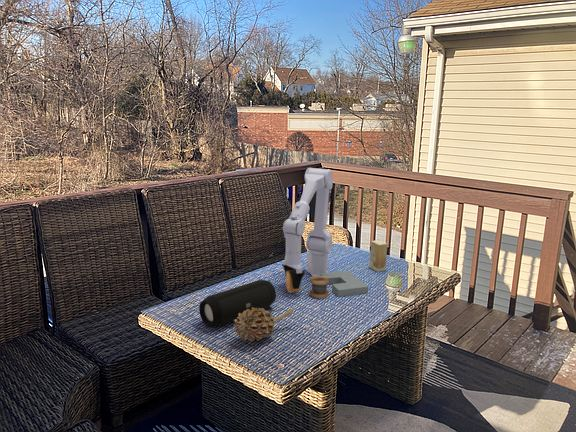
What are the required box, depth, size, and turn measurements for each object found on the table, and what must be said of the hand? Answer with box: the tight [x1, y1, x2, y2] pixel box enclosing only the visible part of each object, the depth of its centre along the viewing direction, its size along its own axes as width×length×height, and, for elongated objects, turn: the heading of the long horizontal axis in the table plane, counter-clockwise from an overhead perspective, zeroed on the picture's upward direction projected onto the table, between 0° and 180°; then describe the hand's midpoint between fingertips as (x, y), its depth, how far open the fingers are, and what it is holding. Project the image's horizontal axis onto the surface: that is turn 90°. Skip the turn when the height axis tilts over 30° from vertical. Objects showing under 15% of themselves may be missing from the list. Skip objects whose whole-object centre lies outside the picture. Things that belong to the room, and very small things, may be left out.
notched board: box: [320, 270, 369, 297], centre depth 177 cm, size 18×12×2 cm, turn 18°
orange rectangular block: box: [285, 270, 301, 293], centre depth 173 cm, size 4×4×7 cm
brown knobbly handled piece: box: [233, 307, 295, 342], centre depth 138 cm, size 22×10×10 cm, turn 134°
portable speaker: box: [198, 279, 277, 327], centre depth 150 cm, size 26×10×10 cm, turn 133°
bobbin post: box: [309, 276, 330, 299], centre depth 169 cm, size 7×7×6 cm
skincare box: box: [369, 239, 388, 273], centre depth 195 cm, size 6×4×12 cm
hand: (292, 284), depth 173 cm, fingers open, 7 cm apart
